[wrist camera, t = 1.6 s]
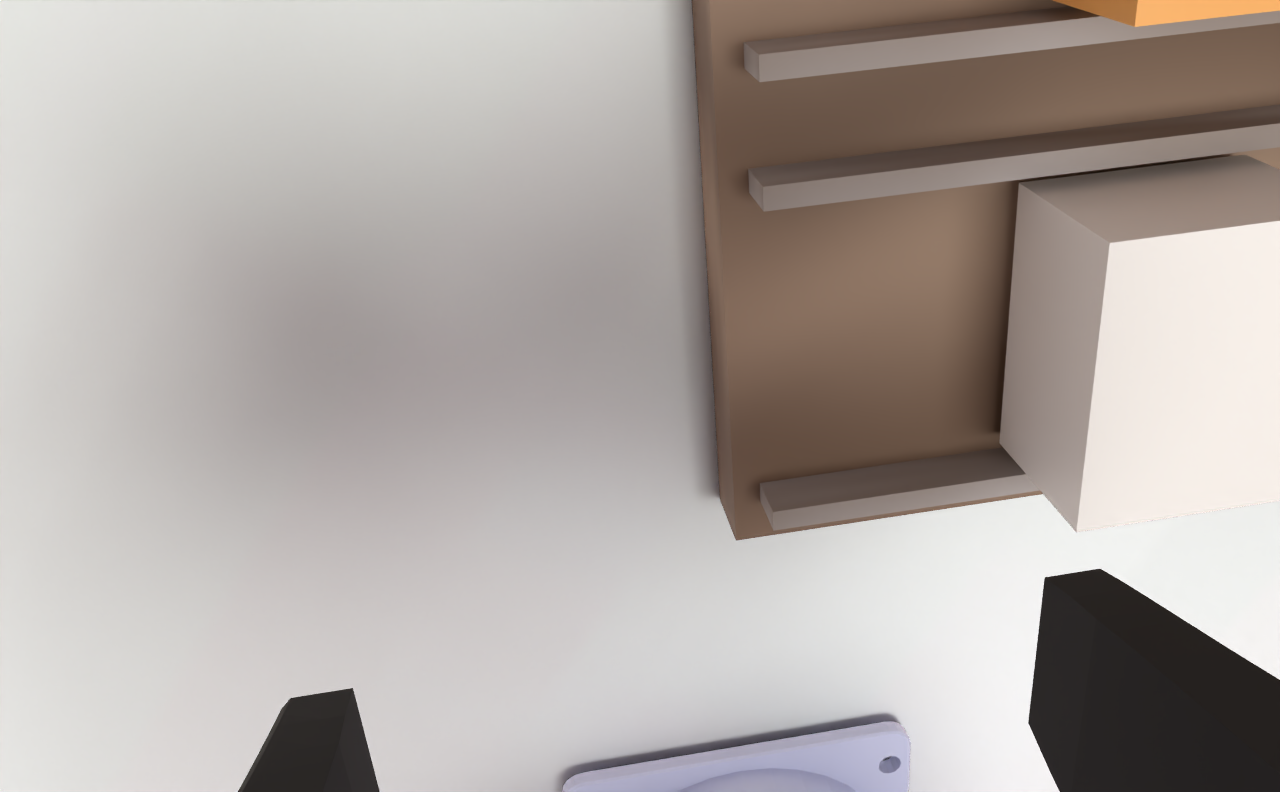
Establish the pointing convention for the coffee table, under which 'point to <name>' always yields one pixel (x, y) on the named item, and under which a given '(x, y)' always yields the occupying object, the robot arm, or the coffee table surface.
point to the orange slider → (1170, 9)
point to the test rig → (915, 221)
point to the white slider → (1147, 341)
